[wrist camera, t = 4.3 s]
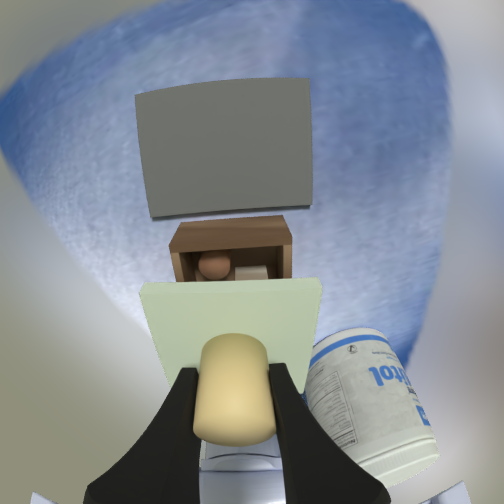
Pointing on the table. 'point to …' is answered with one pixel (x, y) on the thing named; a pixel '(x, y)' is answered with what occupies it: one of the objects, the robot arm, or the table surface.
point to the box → (232, 250)
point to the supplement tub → (369, 405)
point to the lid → (234, 347)
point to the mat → (226, 145)
